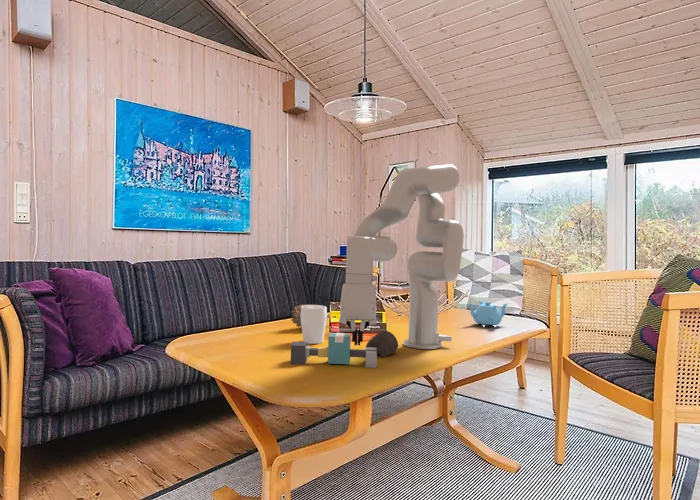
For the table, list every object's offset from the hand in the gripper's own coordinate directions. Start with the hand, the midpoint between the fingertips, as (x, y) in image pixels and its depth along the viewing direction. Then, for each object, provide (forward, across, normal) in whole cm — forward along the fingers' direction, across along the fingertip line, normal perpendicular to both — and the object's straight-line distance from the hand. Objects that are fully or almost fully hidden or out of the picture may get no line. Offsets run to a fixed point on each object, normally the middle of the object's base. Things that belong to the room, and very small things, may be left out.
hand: (357, 344), depth 133 cm
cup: (+6, +15, -26) cm, 31 cm away
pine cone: (+6, +17, -50) cm, 53 cm away
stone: (+6, -8, -13) cm, 16 cm away
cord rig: (+6, +6, 0) cm, 9 cm away
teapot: (+6, -54, -67) cm, 86 cm away
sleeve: (+6, +5, 0) cm, 8 cm away
